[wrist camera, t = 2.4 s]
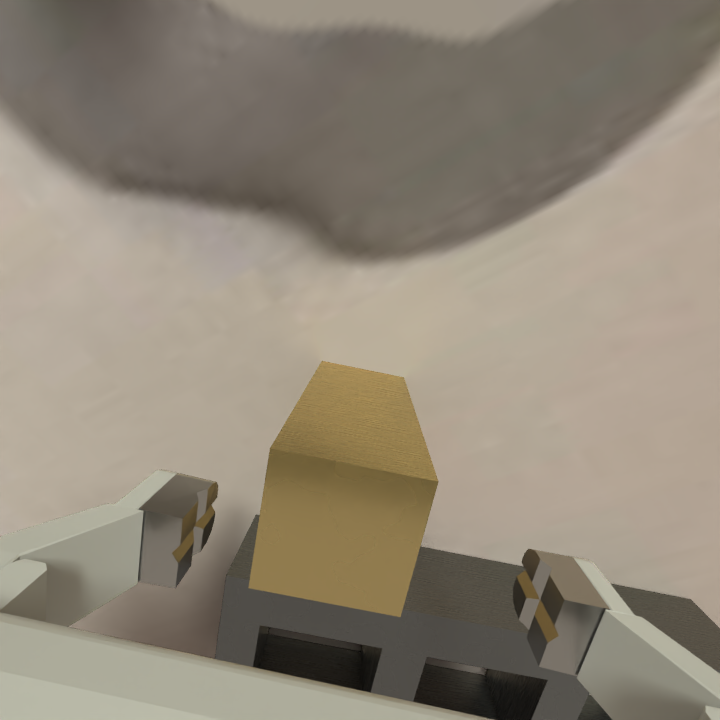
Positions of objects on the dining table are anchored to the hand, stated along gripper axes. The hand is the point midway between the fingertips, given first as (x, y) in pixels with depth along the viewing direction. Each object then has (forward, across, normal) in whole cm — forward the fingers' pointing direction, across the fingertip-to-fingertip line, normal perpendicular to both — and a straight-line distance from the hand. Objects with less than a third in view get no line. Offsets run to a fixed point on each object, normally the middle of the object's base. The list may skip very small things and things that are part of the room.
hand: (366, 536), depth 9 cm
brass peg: (+8, +1, 0) cm, 9 cm away
